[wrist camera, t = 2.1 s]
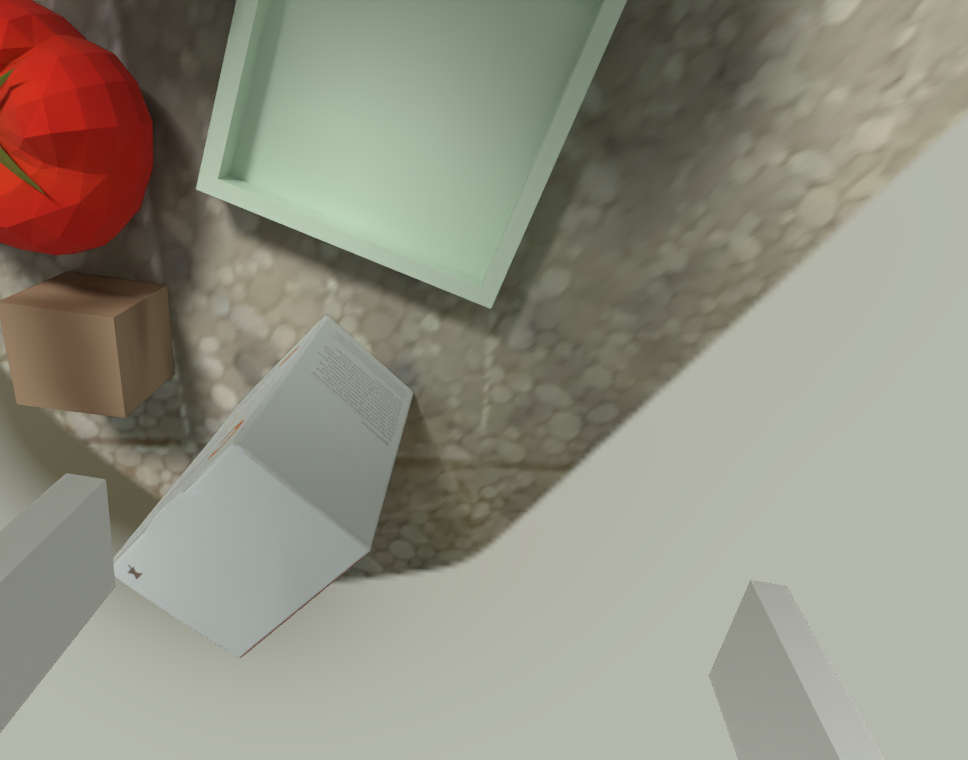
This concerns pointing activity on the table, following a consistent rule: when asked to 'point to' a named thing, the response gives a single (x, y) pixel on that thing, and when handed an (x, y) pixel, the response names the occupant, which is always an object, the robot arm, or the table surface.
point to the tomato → (66, 135)
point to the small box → (275, 495)
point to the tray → (403, 124)
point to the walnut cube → (88, 343)
